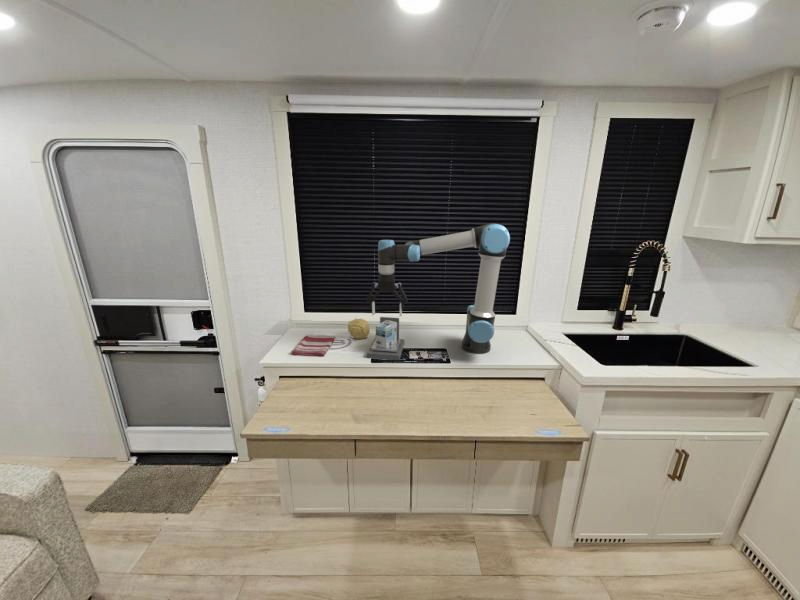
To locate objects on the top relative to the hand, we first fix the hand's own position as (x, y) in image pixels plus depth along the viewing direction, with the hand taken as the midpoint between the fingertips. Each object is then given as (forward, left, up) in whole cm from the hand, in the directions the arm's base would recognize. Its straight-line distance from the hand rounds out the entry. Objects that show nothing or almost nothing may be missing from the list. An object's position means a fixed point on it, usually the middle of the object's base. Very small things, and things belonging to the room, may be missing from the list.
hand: (387, 315), depth 161 cm
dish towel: (+38, 0, -20) cm, 43 cm away
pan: (0, 0, -17) cm, 17 cm away
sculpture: (+18, -16, -20) cm, 31 cm away
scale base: (0, -1, -20) cm, 20 cm away
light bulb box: (0, 0, -16) cm, 16 cm away
